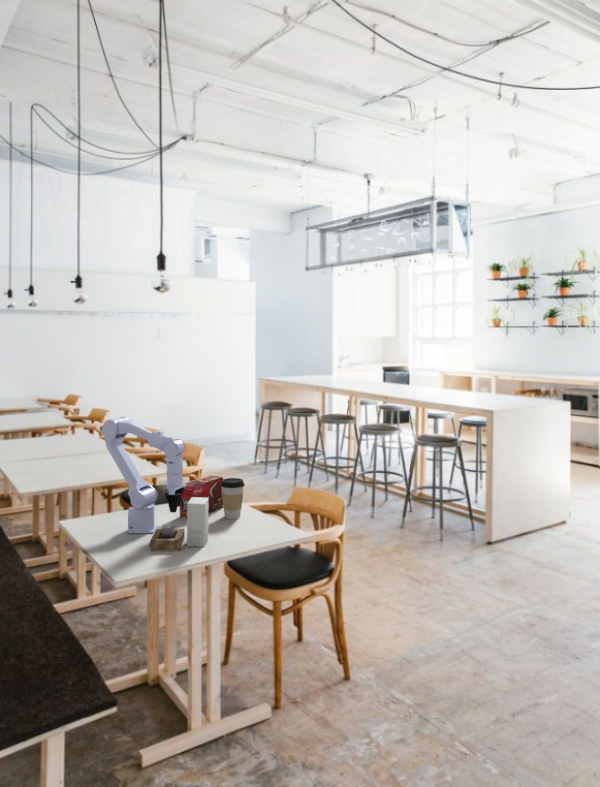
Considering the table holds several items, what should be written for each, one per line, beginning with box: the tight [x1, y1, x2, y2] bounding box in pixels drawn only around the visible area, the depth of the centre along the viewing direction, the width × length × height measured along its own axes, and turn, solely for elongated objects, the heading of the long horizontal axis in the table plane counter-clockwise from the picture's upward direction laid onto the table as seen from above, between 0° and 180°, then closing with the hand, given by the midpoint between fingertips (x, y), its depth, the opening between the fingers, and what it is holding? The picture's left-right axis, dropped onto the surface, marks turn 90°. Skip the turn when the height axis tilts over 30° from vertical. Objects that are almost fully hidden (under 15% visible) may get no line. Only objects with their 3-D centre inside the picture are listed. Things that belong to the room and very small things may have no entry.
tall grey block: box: [161, 524, 176, 539], centre depth 223 cm, size 4×4×6 cm
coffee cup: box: [220, 477, 246, 520], centre depth 256 cm, size 10×10×15 cm
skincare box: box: [186, 497, 209, 548], centre depth 224 cm, size 8×7×16 cm
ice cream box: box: [178, 475, 224, 519], centre depth 263 cm, size 20×6×13 cm, turn 148°
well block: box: [149, 528, 186, 551], centre depth 223 cm, size 10×13×4 cm
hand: (175, 509), depth 234 cm, fingers open, 7 cm apart
